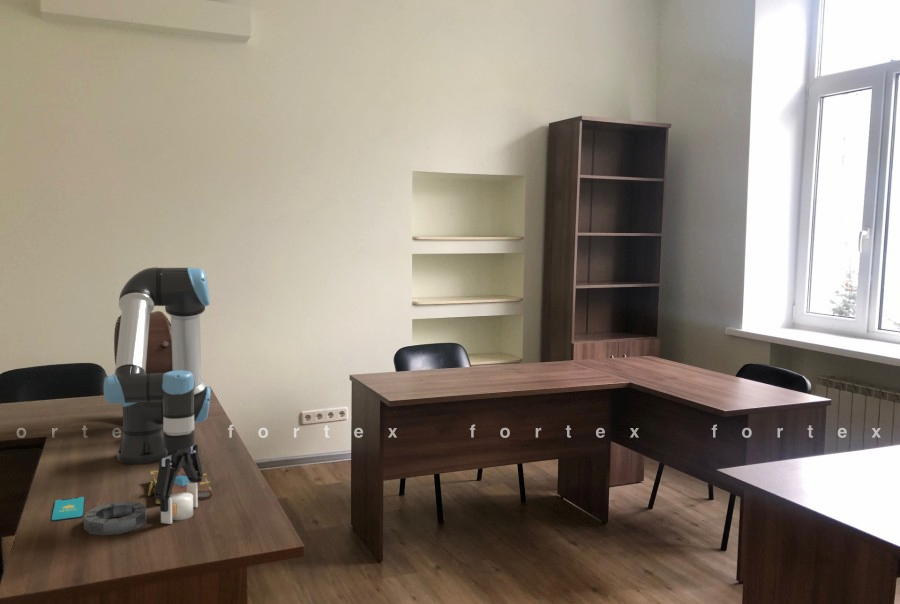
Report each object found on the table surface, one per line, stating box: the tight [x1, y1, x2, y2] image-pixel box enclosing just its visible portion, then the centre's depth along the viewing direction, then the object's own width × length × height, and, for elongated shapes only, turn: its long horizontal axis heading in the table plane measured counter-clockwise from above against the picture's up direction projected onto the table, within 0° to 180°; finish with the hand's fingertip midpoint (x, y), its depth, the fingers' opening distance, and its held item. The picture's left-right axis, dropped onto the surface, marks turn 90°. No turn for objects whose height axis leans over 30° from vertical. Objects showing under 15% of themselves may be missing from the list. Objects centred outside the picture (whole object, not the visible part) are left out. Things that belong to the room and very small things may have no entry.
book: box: [147, 469, 213, 505], centre depth 207 cm, size 16×25×5 cm, turn 26°
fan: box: [113, 310, 173, 434], centre depth 268 cm, size 41×18×44 cm, turn 34°
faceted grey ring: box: [83, 500, 148, 536], centre depth 181 cm, size 14×14×3 cm
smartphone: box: [50, 496, 86, 522], centre depth 190 cm, size 7×1×15 cm
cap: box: [170, 492, 194, 521], centre depth 187 cm, size 8×7×5 cm
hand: (179, 514), depth 188 cm, fingers open, 11 cm apart
